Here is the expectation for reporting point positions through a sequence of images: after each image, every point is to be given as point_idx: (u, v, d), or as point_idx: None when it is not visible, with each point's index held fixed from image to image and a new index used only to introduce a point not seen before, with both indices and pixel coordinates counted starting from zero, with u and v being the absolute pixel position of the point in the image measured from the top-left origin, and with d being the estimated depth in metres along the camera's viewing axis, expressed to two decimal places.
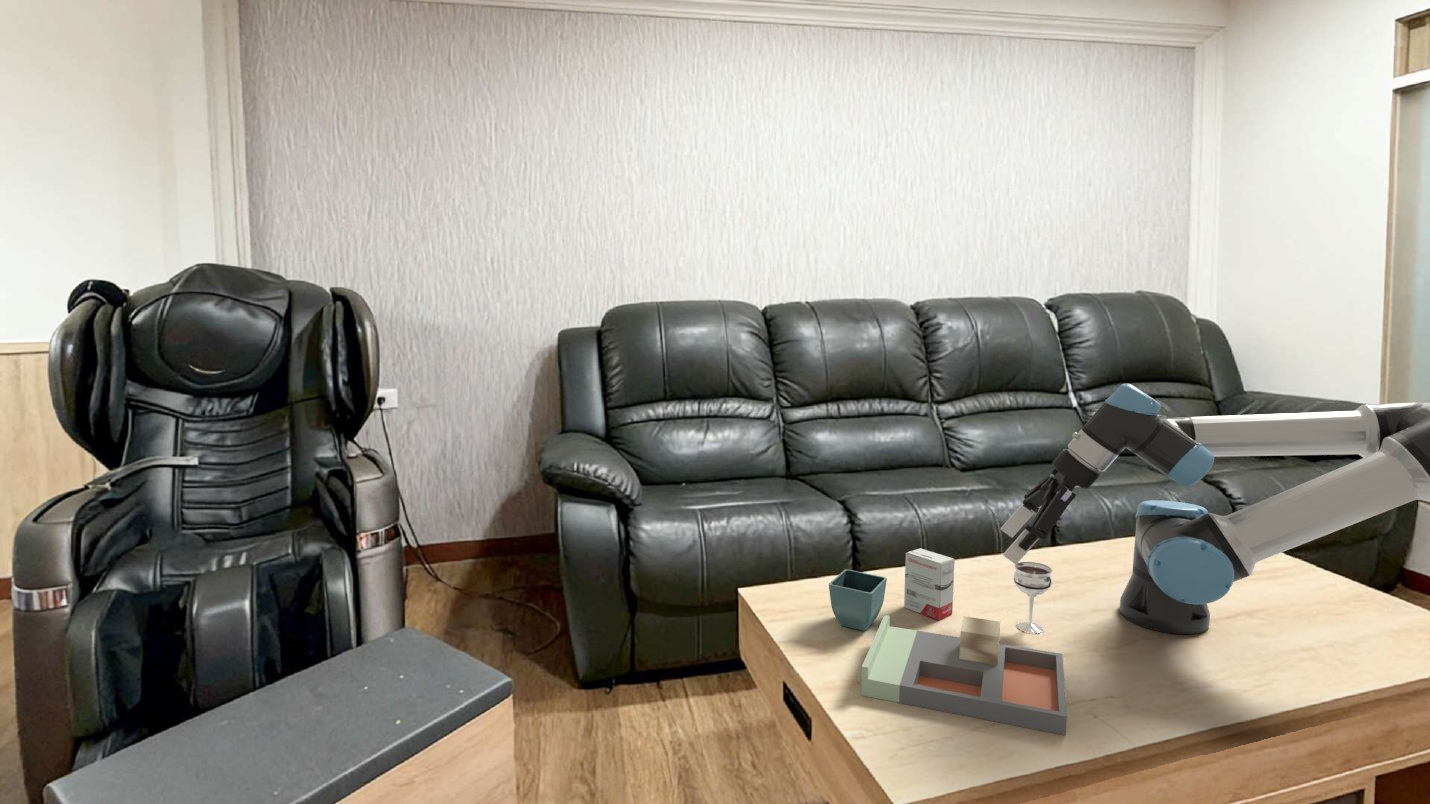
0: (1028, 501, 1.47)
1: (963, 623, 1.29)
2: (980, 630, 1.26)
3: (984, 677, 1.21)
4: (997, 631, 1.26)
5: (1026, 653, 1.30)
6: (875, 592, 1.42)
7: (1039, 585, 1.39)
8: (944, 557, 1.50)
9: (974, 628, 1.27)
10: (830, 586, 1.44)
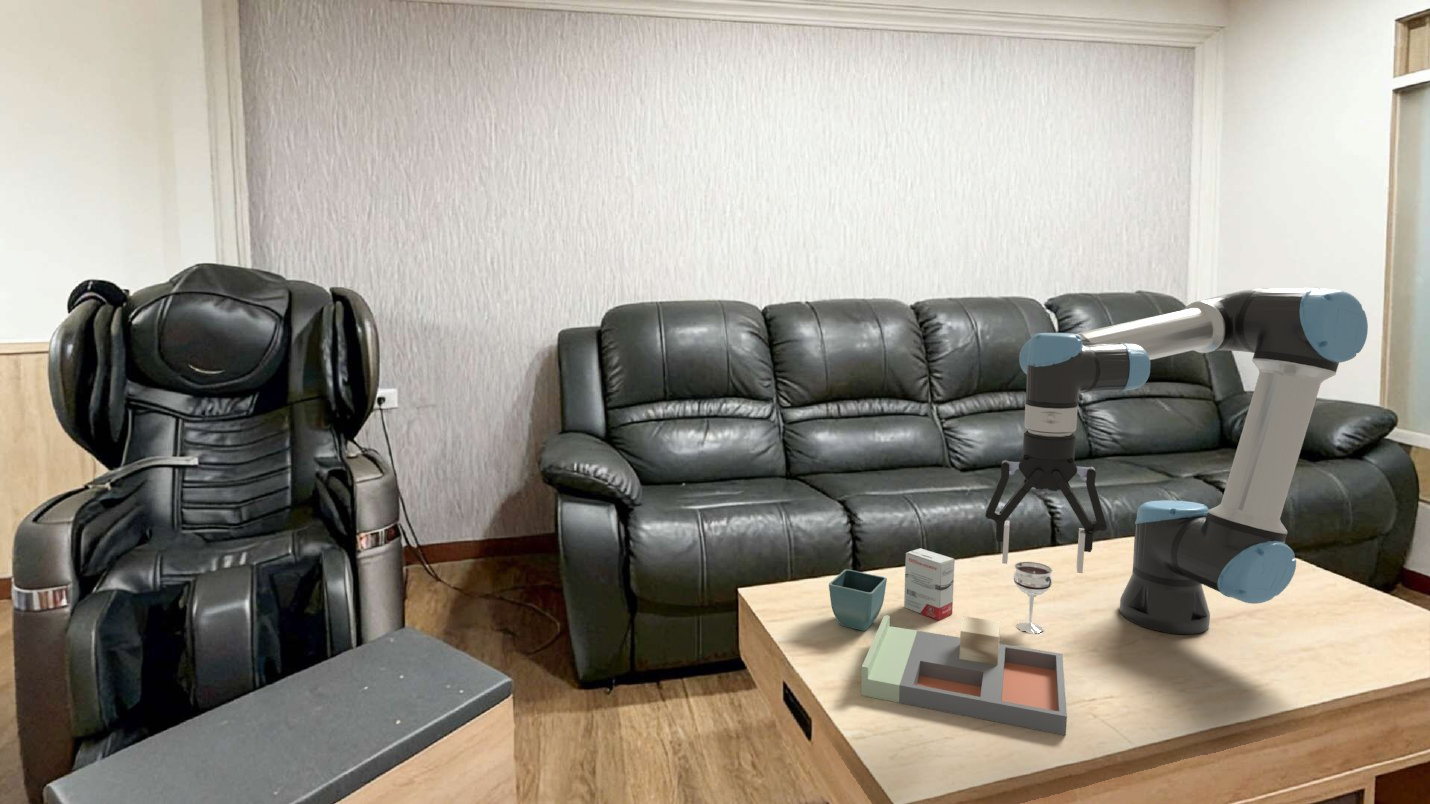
0: None
1: (963, 623, 1.29)
2: (980, 630, 1.26)
3: (984, 677, 1.21)
4: (997, 631, 1.26)
5: (1026, 653, 1.30)
6: (875, 592, 1.42)
7: (1039, 585, 1.39)
8: (944, 557, 1.50)
9: (974, 628, 1.27)
10: (830, 586, 1.44)
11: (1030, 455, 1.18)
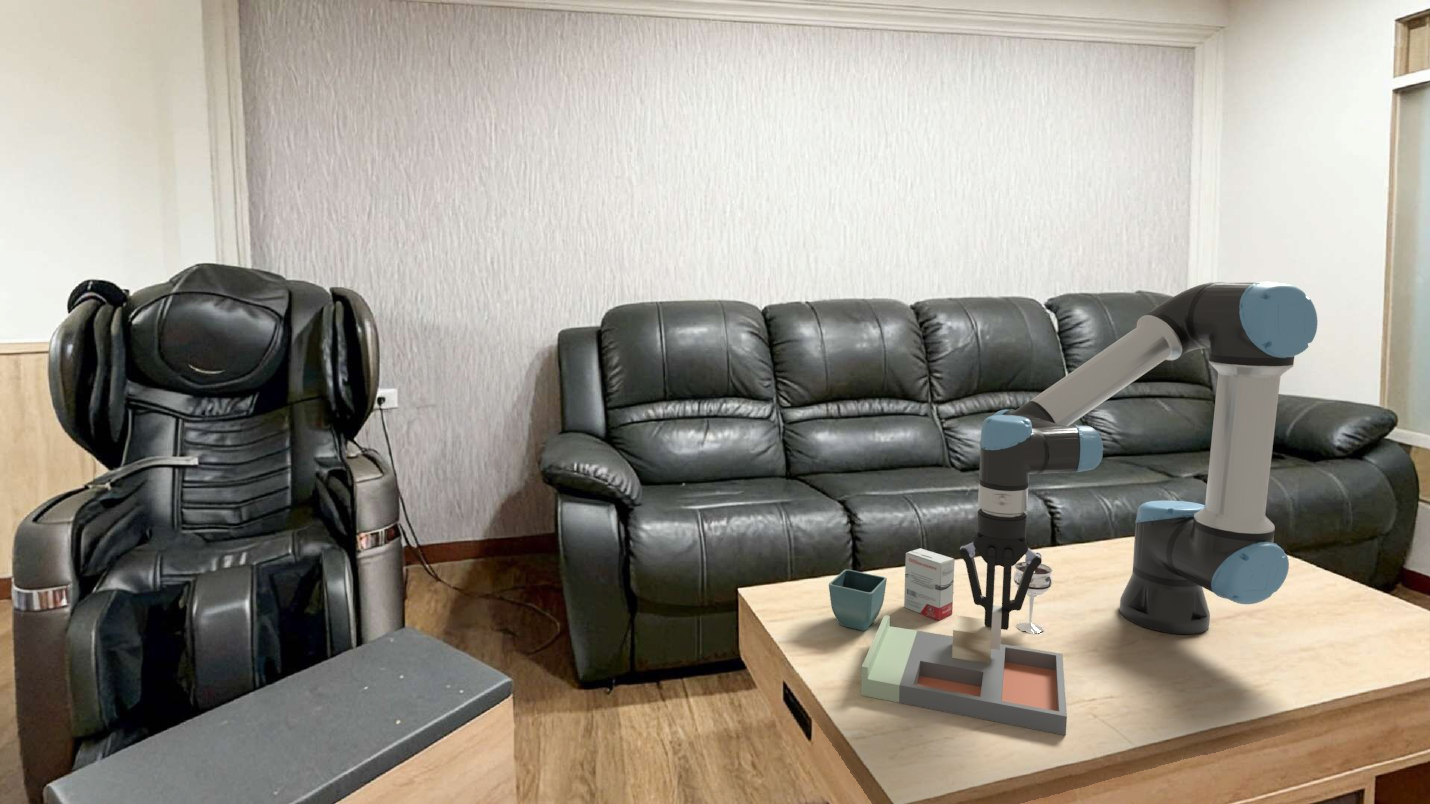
0: (993, 598, 1.25)
1: (956, 622, 1.29)
2: (972, 629, 1.27)
3: (984, 677, 1.21)
4: (989, 630, 1.26)
5: (1026, 653, 1.30)
6: (875, 592, 1.42)
7: (1039, 585, 1.39)
8: (944, 557, 1.50)
9: (967, 627, 1.28)
10: (830, 586, 1.44)
11: (983, 534, 1.23)
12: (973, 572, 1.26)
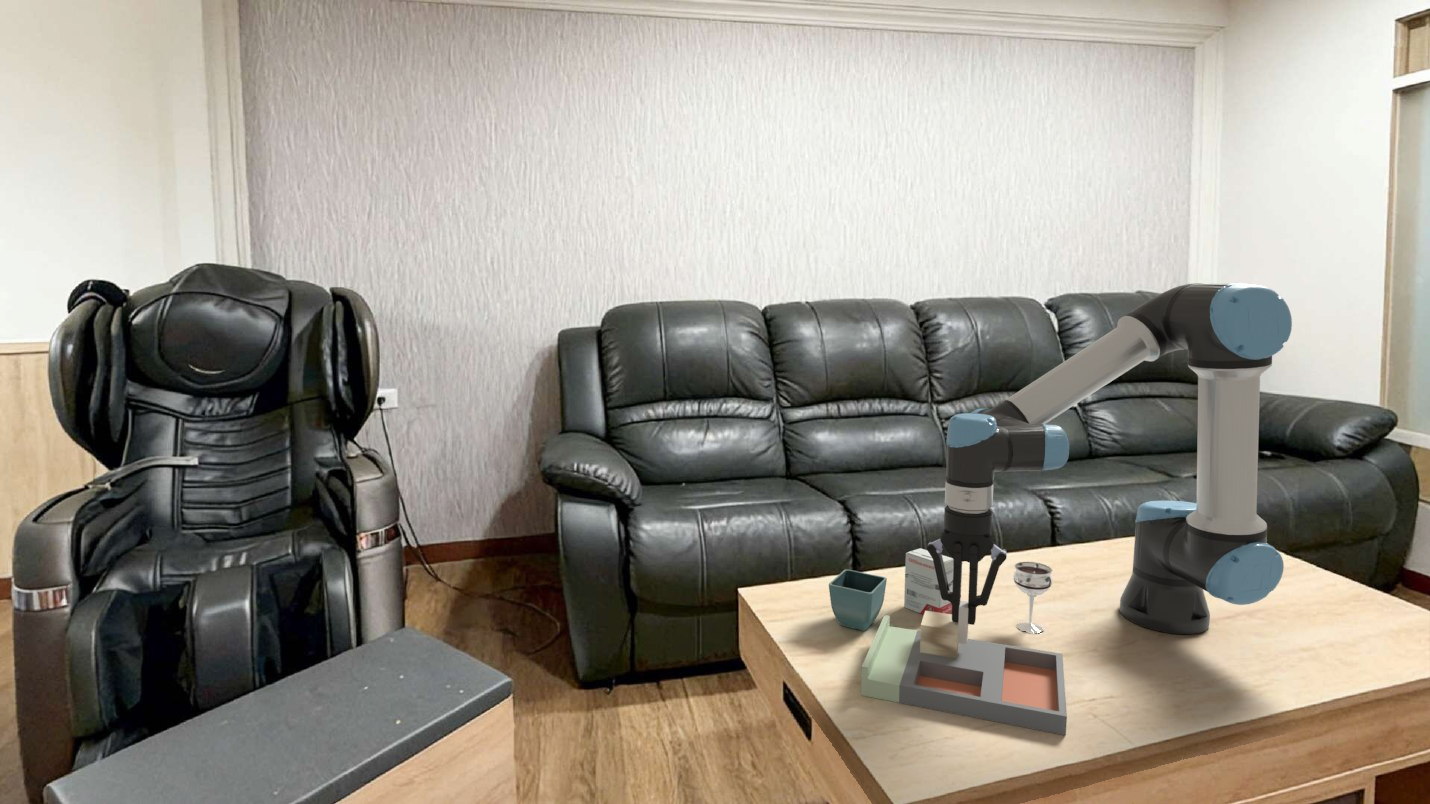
0: (959, 594, 1.27)
1: (924, 617, 1.31)
2: (940, 624, 1.29)
3: (984, 677, 1.21)
4: (956, 625, 1.28)
5: (1026, 653, 1.30)
6: (875, 592, 1.42)
7: (1039, 585, 1.39)
8: (944, 557, 1.50)
9: (935, 622, 1.30)
10: (830, 586, 1.44)
11: (949, 530, 1.25)
12: (940, 568, 1.28)
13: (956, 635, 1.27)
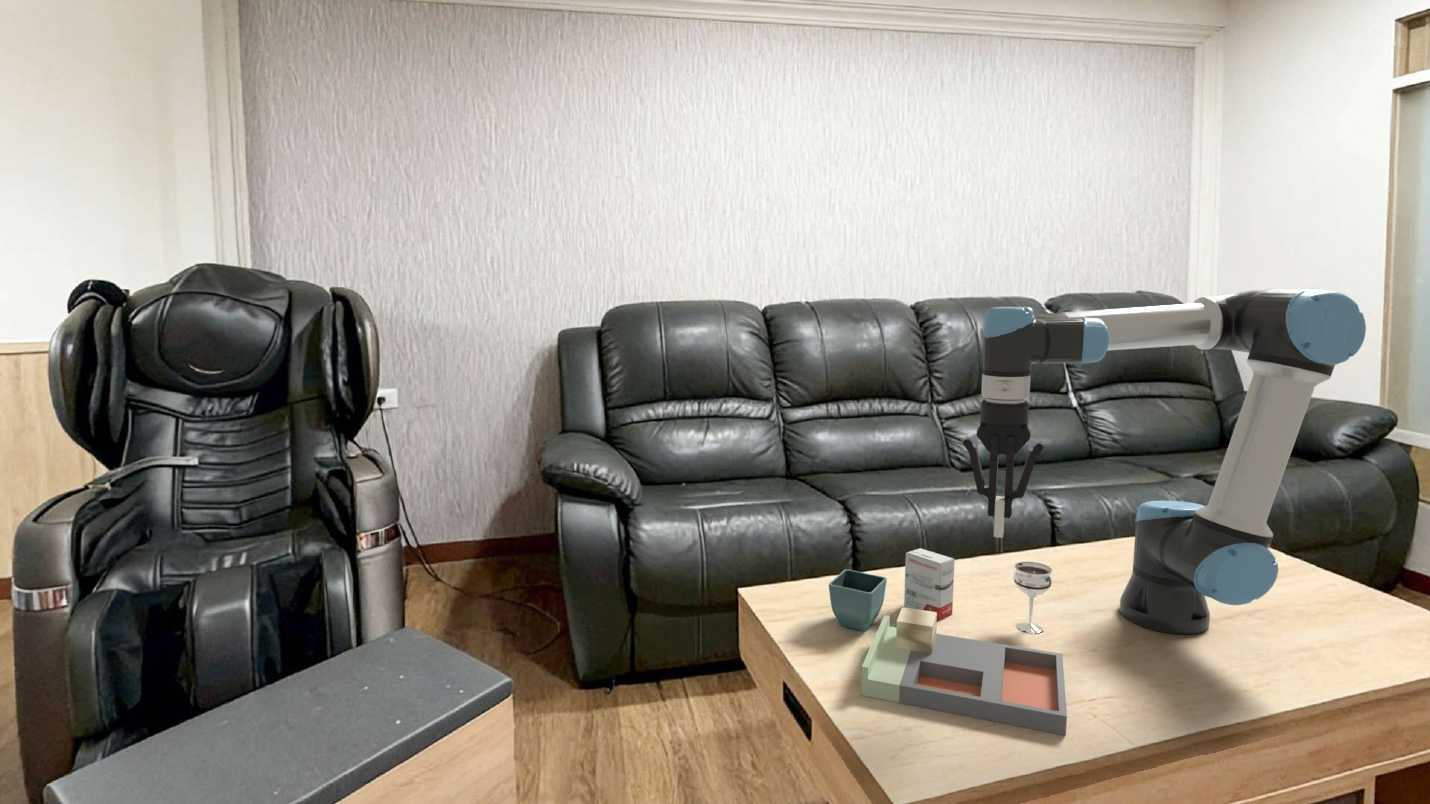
0: (996, 487, 1.28)
1: (900, 614, 1.33)
2: (916, 620, 1.30)
3: (984, 677, 1.21)
4: (932, 621, 1.30)
5: (1026, 653, 1.30)
6: (875, 592, 1.42)
7: (1039, 585, 1.39)
8: (944, 557, 1.50)
9: (911, 618, 1.31)
10: (830, 586, 1.44)
11: (986, 422, 1.26)
12: (976, 462, 1.29)
13: (931, 631, 1.28)
